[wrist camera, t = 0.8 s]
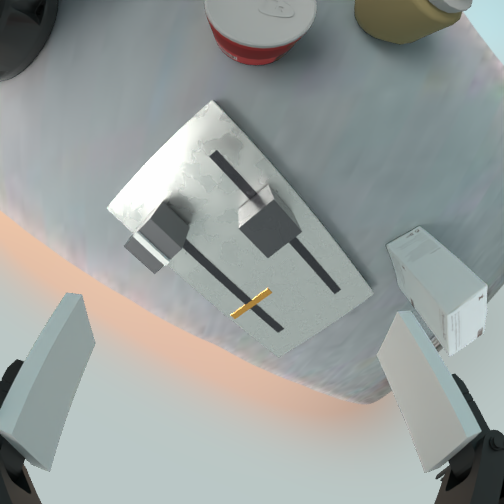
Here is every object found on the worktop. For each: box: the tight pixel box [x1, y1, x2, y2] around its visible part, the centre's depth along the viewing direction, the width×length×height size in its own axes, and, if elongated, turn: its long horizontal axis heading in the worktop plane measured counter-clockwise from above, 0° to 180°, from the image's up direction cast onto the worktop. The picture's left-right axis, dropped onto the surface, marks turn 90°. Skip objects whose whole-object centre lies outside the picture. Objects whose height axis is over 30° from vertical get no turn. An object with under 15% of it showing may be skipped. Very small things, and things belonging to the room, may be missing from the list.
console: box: [107, 100, 374, 358], centre depth 33 cm, size 30×16×8 cm, turn 41°
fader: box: [124, 201, 190, 274], centre depth 29 cm, size 4×4×5 cm
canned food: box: [204, 0, 317, 65], centre depth 20 cm, size 8×8×11 cm
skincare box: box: [386, 226, 488, 357], centre depth 31 cm, size 8×6×15 cm
